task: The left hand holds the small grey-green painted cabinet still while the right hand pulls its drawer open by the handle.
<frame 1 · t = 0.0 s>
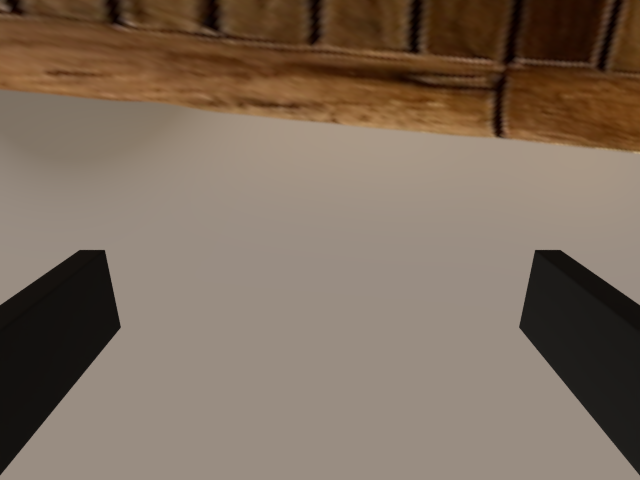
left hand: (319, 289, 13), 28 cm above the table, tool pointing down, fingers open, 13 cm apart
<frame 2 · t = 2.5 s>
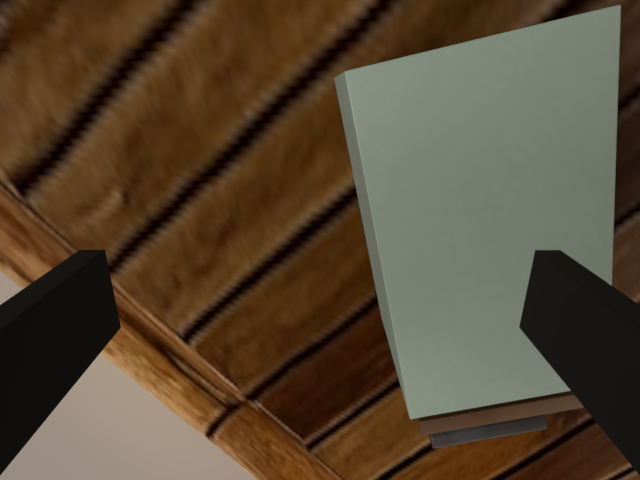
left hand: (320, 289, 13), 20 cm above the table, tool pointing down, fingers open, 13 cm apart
cabinet: (433, 193, 32), on the table
drawer: (467, 295, 28), point 6 cm above the table, slide at 1.4 cm
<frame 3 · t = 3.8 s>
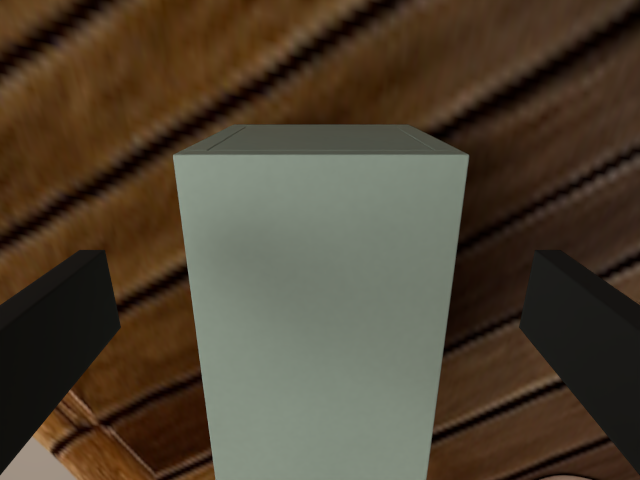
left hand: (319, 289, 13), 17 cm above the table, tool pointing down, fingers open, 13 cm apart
cabinet: (320, 261, 31), on the table
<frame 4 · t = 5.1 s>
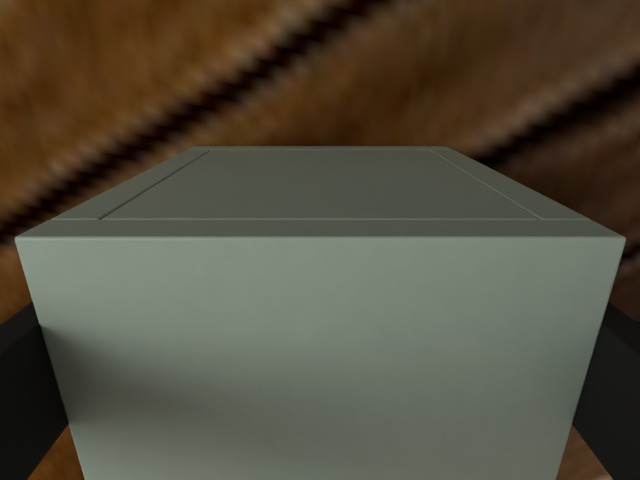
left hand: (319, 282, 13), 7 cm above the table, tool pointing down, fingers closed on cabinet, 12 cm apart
cabinet: (320, 329, 22), on the table, touching left hand
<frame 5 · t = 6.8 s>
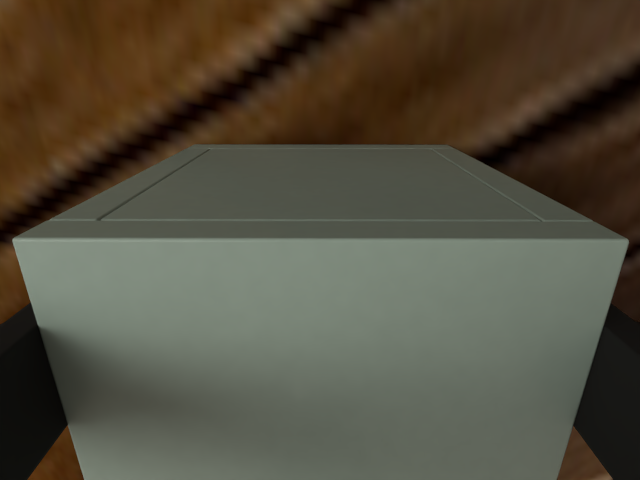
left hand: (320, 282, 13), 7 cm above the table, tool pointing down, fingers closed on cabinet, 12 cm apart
cabinet: (320, 328, 22), on the table, touching left hand
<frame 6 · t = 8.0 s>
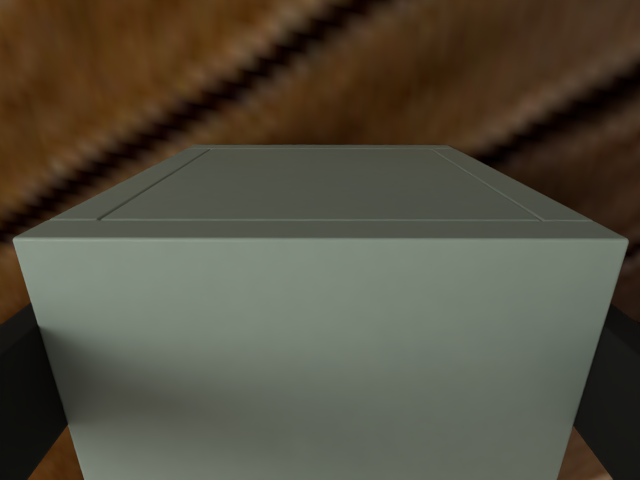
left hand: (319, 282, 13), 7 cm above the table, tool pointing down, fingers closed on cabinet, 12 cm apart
cabinet: (320, 328, 22), on the table, touching left hand
when the left hand's fingers open (7 cm above the table, at t = 9.9 s): cabinet stays where it is, on the table.
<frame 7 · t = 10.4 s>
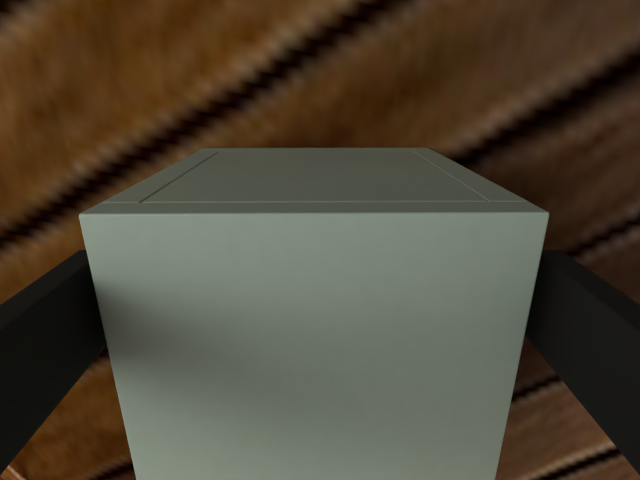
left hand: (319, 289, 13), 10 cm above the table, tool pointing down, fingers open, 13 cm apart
cabinet: (316, 314, 25), on the table
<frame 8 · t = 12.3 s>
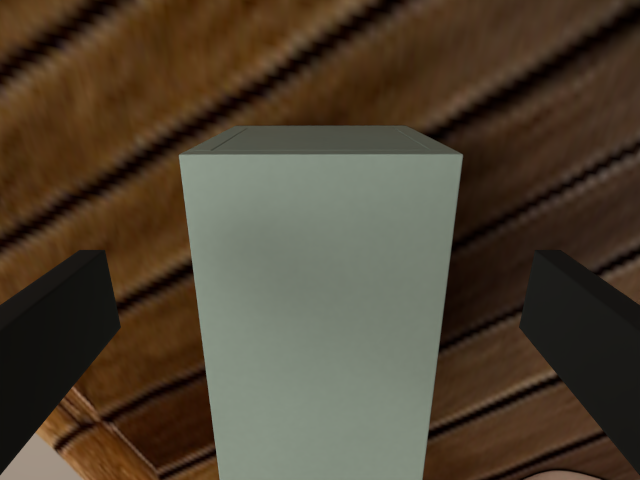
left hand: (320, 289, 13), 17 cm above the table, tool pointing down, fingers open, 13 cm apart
cabinet: (320, 259, 31), on the table
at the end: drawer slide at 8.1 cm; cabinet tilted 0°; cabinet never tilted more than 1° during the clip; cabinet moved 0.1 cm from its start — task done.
